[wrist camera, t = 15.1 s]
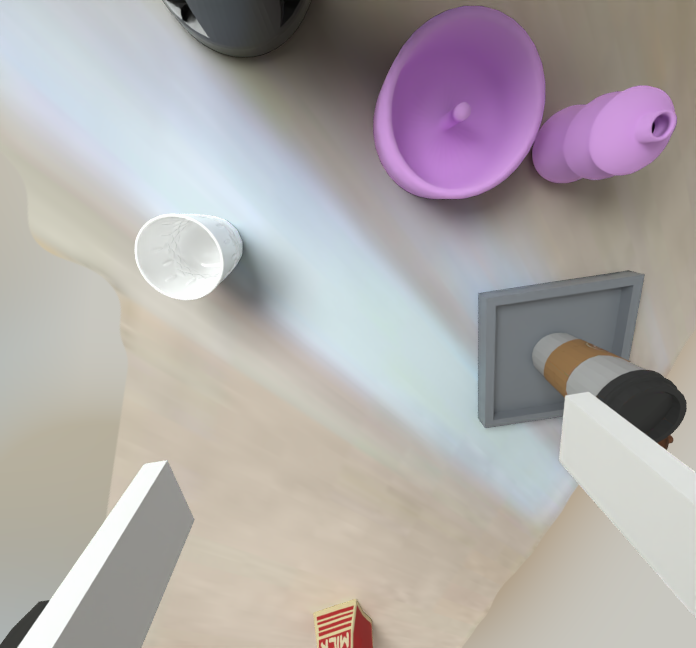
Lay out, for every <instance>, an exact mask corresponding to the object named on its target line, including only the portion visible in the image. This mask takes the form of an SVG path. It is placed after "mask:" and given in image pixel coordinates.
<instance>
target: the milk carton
mask: <svg viewBox="0 0 696 648" xmlns="http://www.w3.org/2000/svg"><path fill="white" fill-rule="evenodd" d="M313 615H314V624H315V633H316V641H317V648H373V636H372V620H371V619H370V618H369V617H368V616H367V615H366V614H365V613H364V612H363V611H362V609H361V607H360V605H359V603H358V601H357V600H356V599H355V600H352V601H349V602H345V603H342V604H339V605H336V606H333V607H330V608H327V609H324V610H321V611H318V612H315V613H313Z"/></svg>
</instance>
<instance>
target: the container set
mask: <svg viewBox="0 0 696 648" xmlns="http://www.w3.org/2000/svg"><path fill="white" fill-rule="evenodd" d="M544 105H545V78H544V72H543V66H542V62H541V59H540V57H539V54H538V52H537V49H536V46H535V45H534V43H533V42H532V40H531V39H530V37H529V35H528V34H527V32H526V31H525V30H524V29H523V28H522V27H521V26H520V25H519V24H518V23H517V22H516V21H515V20H514V19H512V18H511V17H509V16H507V15H505V14H504V13H502V12H500V11H499V10H495V9H491V8H488V7H484V6H462V7H458V8H454V9H450V10H446V11H444V12H442V13H441V14H439V15H437V16H435V17H433V18H431V19H429V20H428V21H427V22H426V23H424V24H423V25H422V26H421V27H420V28H418V29H417V30H416V31H415V32H414V33H413V34H412V35H411V37H410V38H409V39H408V40H407V41H406V43H405V44H404V45H403V46H402V48H401V50H400V51H399V53H398V55H397V57H396V58H395V60H394V62H393V64H392V66H391V68H390V70H389V72H388V74H387V76H386V79H385V81H384V83H383V85H382V87H381V90H380V93H379V96H378V98H377V101H376V106H375V112H374V117H373V135H374V141H375V147H376V150H377V153H378V156H379V159H380V162H381V163H382V165H383V167H384V169H385V170H386V172H387V174H388V175H389V176H390V177H391V178H392V179H393V180H394V182H395V183H396V184H397V185H399V186H400V187H402V188H403V189H404V190H406V191H407V192H409V193H412V194H414V195H416V196H418V197H423V198H428V199H464V198H468V197H472V196H477V195H479V194H482V193H484V192H486V191H488V190H490V189H492V188H494V187H495V186H497V185H498V184H500V183H501V182H503V181H504V180H505V179H506V178H507V177H509V176H510V175H511V174H512V173H513V172H514V171H515V170H516V169H517V168H518V166H519V165H520V164H521V162H522V161H523V159H524V158H525V157H526V155H527V154H528V152H529V150H530V148H531V147H532V145H533V150H532V158H533V163H534V166H535V168H536V170H537V172H538V173H539V175H541V176H542V177H543V178H544V179H546V180H548V181H550V182H554V183H570V182H574V181H577V180H579V179H581V178H586V179H590V180H601V179H605V178H609V177H613V176H615V175H627V174H631V173H634V172H636V171H638V170H640V169H642V168H643V167H645V166H647V165H648V164H650V163H651V162H652V161H653V160H655V159H656V158H657V157H658V156H659V155H660V153H661V152H662V151H663V150H664V148H665V147H666V145H667V144H668V142H669V139H670V137H671V135H672V133H673V131H674V129H675V127H676V124H677V116H676V114H675V110H674V106H673V103H672V101H671V99H670V97H669V96H668V95H667V94H666V93H665V92H664V91H662V90H661V89H659V88H655V87H651V86H635V87H631V88H629V89H626V90H624V91H617V92H612V93H607V94H604V95H601V96H599V97H597V98H595V99H594V100H593V101H591V102H590V103H588V104H587V105H573V106H569V107H567V108H565V109H562V110H560V111H558V112H557V113H555V114H554V115H552V116H551V117H550V118H549V119H548V120H547V121H546V122H545V123H544V124H543V126H542V127H541V128H540V125H541V122H542V118H543V111H544ZM539 128H540V130H539ZM538 131H539V132H538ZM533 143H534V144H533Z"/></svg>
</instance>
